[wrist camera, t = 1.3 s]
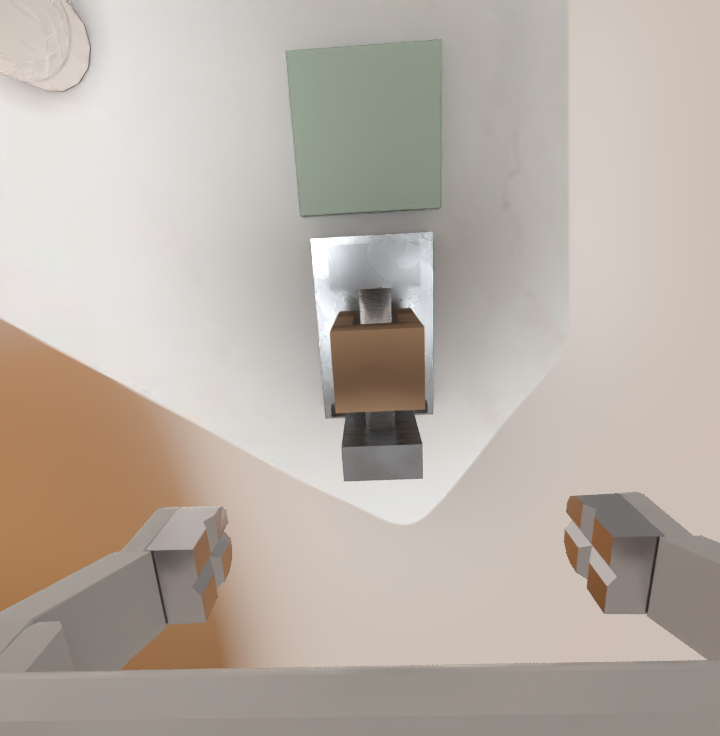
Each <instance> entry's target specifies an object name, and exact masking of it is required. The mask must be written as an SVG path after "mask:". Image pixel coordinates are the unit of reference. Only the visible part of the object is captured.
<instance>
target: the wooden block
mask: <svg viewBox="0 0 720 736" xmlns="http://www.w3.org/2000/svg"><path fill="white" fill-rule="evenodd" d="M330 345H331V358H332V371H333V384H334V397H335V410H336V413H352V412H376V411H400V410H424V409H425V327H424V326H423V324H422V323H421V322H420V320H419V319H418V317H417V316H416V315H415V313H414V312H413V310H412V309H411V308H395V323H375V324H356V316H355V311H339V313H338V315H337V317H336V320H335V322H334V324H333V326H332V328H331V330H330Z"/></svg>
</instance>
